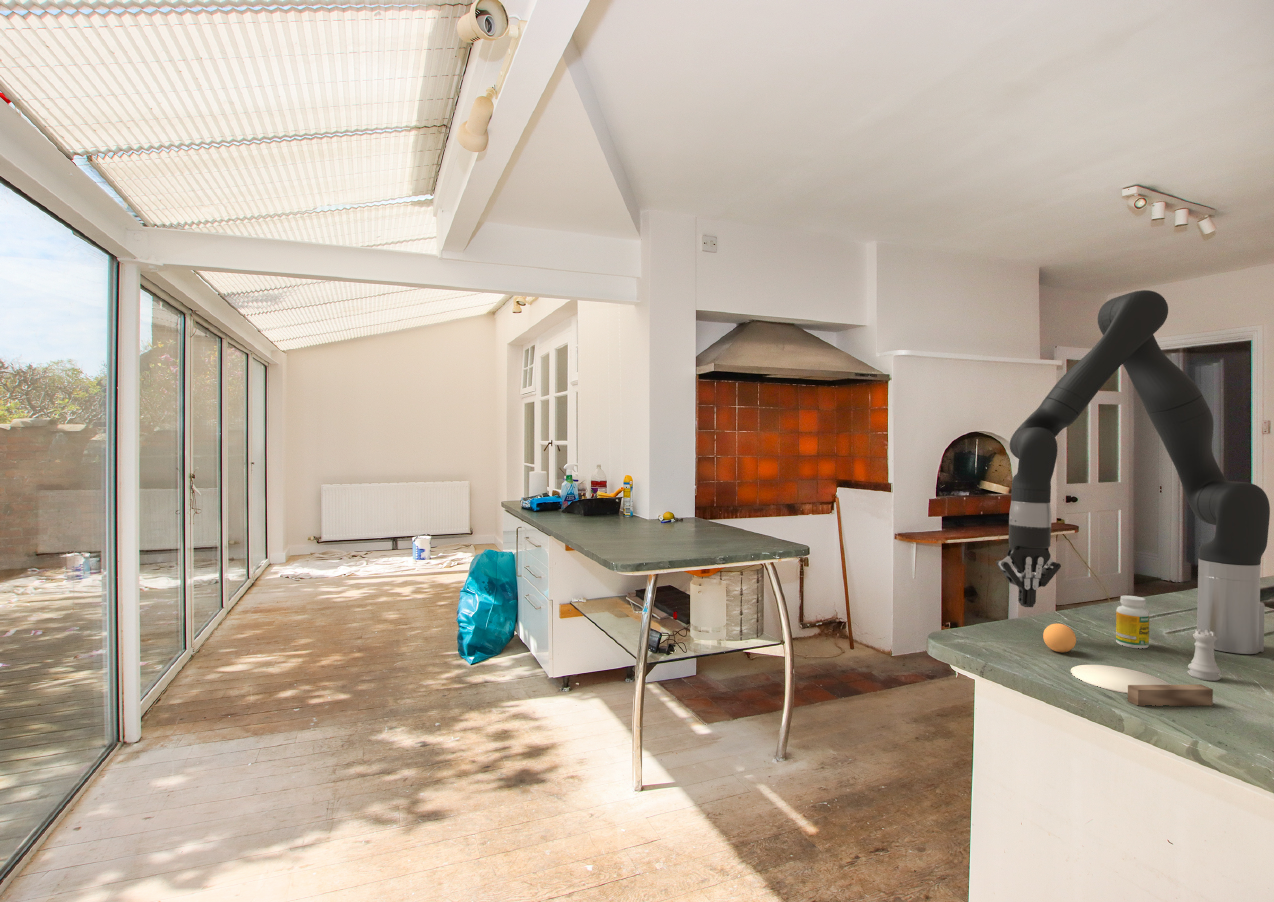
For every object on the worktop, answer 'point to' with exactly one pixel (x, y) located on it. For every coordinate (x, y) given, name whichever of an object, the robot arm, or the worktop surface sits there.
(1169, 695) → the rail
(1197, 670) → the rook chess piece
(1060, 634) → the egg
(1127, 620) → the supplement bottle
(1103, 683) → the disc
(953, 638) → the worktop surface
